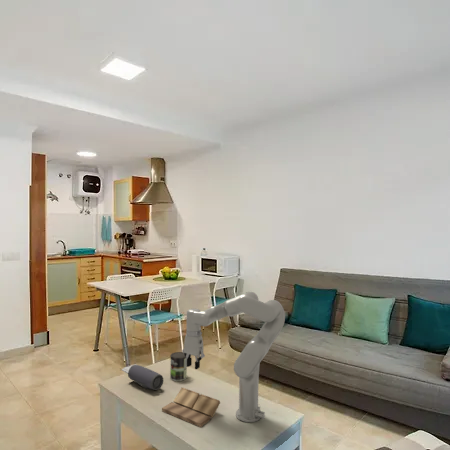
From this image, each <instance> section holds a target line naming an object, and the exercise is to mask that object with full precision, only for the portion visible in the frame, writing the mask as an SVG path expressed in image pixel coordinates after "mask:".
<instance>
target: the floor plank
mask: <svg viewBox="0 0 450 450" xmlns="http://www.w3.org/2000/svg"><path fill="white" fill-rule="evenodd" d="M161 412H163V413H166V414H168V415H170V416H173V417H175V418H178V419H180V420H182V421H185V422H188V423H190V424H192V425H194V426H196V427H199V428H202V427H203V426H204V425H206V424H207V423H208V422H210V421H211V420H212V417H210V416H207V415H205V414H202V413H199V412H197V411H194V410H193V409H189V408H187V407H184V406H182V405H179V404H176V403H174V401H173V402H172V401H171V402H169V403H168V404H166V405H164V406H163V407H161Z"/></svg>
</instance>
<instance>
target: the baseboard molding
mask: <svg viewBox="0 0 450 450" xmlns="http://www.w3.org/2000/svg"><path fill="white" fill-rule="evenodd" d="M133 365H137V364H136V363H133V364H132V363H131V364H130V363H128V365H127V366H123V367H122V368H120V371H123V372H124V373H125V374H128V371H129V369H130V367H131V366H133Z"/></svg>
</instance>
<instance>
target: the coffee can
mask: <svg viewBox="0 0 450 450" xmlns="http://www.w3.org/2000/svg"><path fill="white" fill-rule="evenodd" d="M169 372H170V373H169V374H170V376H169V378H170V380H171V381H174V382H181V381H185V380H186V379H187V377H188V375H187V374H188V373H187V372H188V367H187V359H186V356H185V355H184V353H183V352H182V351H176V352H172V353H171V354H170V371H169Z"/></svg>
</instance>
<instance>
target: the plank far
mask: <svg viewBox="0 0 450 450" xmlns="http://www.w3.org/2000/svg"><path fill="white" fill-rule="evenodd" d="M200 394H201V393H199V392H196V391H193V390H190V389H188V388H184V387H181V388H180V390H179V391H178V393H177V394H176V397H175V398H174V399H173V403H175V404H178V405H181V406H183V407H186V408H188V409H191V410H193V409H192V408H193V407H194V405H195V403H196V401H197V400H198V398H199V396H200Z"/></svg>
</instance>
